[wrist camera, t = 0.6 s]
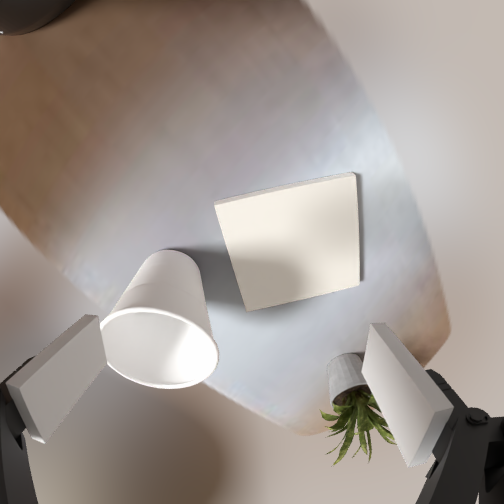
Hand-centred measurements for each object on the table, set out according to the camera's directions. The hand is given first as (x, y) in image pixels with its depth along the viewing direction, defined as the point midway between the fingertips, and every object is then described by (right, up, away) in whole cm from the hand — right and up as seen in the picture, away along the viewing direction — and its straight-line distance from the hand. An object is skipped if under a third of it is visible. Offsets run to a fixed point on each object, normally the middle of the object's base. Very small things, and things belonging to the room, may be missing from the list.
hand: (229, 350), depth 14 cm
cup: (-7, +2, +18) cm, 20 cm away
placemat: (+5, +5, +17) cm, 19 cm away
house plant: (+16, -11, +29) cm, 35 cm away
